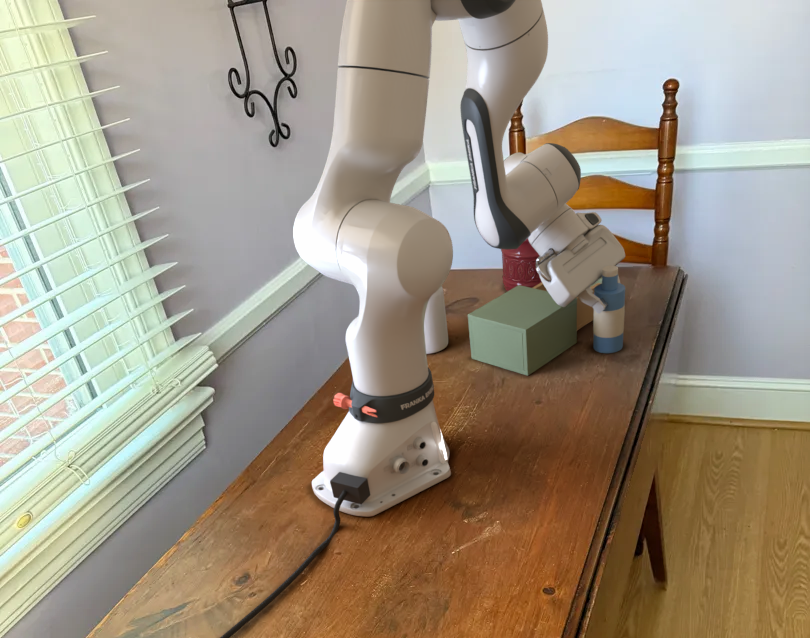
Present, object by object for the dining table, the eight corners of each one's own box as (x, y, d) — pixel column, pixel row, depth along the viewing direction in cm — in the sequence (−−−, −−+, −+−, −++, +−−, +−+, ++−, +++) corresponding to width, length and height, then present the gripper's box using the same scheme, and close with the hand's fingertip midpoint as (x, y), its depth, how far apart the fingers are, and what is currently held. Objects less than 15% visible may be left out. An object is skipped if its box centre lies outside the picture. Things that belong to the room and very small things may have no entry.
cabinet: (520, 328, 154) (518, 284, 148) (576, 342, 146) (577, 297, 140) (471, 358, 146) (467, 314, 141) (527, 375, 138) (525, 329, 133)
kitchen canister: (521, 270, 176) (517, 188, 165) (574, 276, 170) (574, 191, 159) (491, 293, 169) (486, 208, 158) (546, 300, 162) (544, 212, 151)
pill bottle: (456, 339, 154) (448, 263, 144) (436, 357, 149) (426, 280, 139) (422, 334, 157) (412, 260, 148) (400, 352, 152) (389, 277, 143)
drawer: (572, 293, 161) (572, 260, 156) (623, 304, 153) (624, 270, 149) (518, 327, 152) (516, 292, 148) (569, 340, 145) (569, 304, 141)
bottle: (612, 356, 140) (614, 276, 131) (587, 349, 143) (588, 271, 134) (628, 344, 142) (632, 265, 133) (603, 337, 146) (605, 260, 136)
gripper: (542, 250, 128) (596, 316, 129) (601, 209, 139) (650, 269, 140) (520, 273, 133) (572, 337, 134) (578, 232, 144) (626, 290, 145)
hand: (612, 302), depth 137 cm, fingers closed on bottle, 5 cm apart
